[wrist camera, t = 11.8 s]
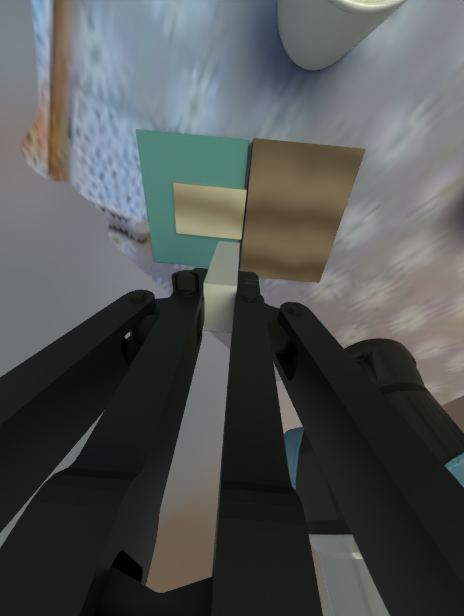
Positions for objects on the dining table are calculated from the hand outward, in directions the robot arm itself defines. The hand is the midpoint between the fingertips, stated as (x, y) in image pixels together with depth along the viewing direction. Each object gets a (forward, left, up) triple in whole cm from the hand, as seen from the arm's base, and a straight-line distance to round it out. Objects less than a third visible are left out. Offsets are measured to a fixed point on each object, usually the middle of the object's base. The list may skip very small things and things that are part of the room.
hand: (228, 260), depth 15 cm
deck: (0, -7, -17) cm, 18 cm away
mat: (0, +6, -17) cm, 17 cm away
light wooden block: (0, +3, -16) cm, 16 cm away
